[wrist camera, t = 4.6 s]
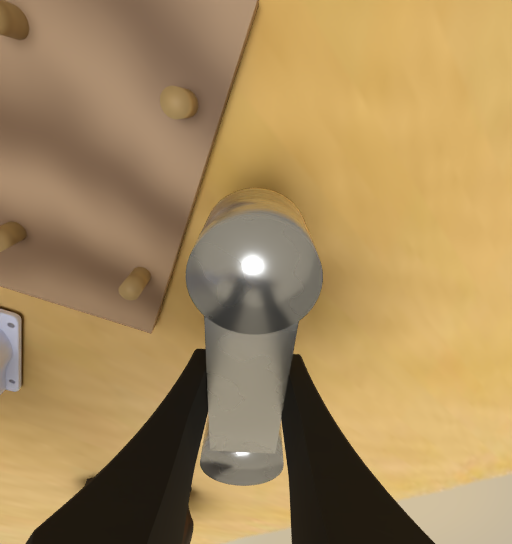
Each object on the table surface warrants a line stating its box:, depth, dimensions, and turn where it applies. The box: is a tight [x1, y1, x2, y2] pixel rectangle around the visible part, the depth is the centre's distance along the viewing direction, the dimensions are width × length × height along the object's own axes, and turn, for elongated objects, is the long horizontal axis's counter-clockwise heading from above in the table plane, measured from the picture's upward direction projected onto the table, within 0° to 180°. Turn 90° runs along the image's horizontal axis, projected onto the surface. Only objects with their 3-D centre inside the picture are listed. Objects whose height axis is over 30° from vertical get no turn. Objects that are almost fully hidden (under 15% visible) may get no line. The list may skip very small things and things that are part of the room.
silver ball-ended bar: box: [186, 188, 323, 486], centre depth 12 cm, size 14×4×3 cm, turn 176°
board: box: [0, 0, 259, 333], centre depth 15 cm, size 20×11×3 cm, turn 157°
